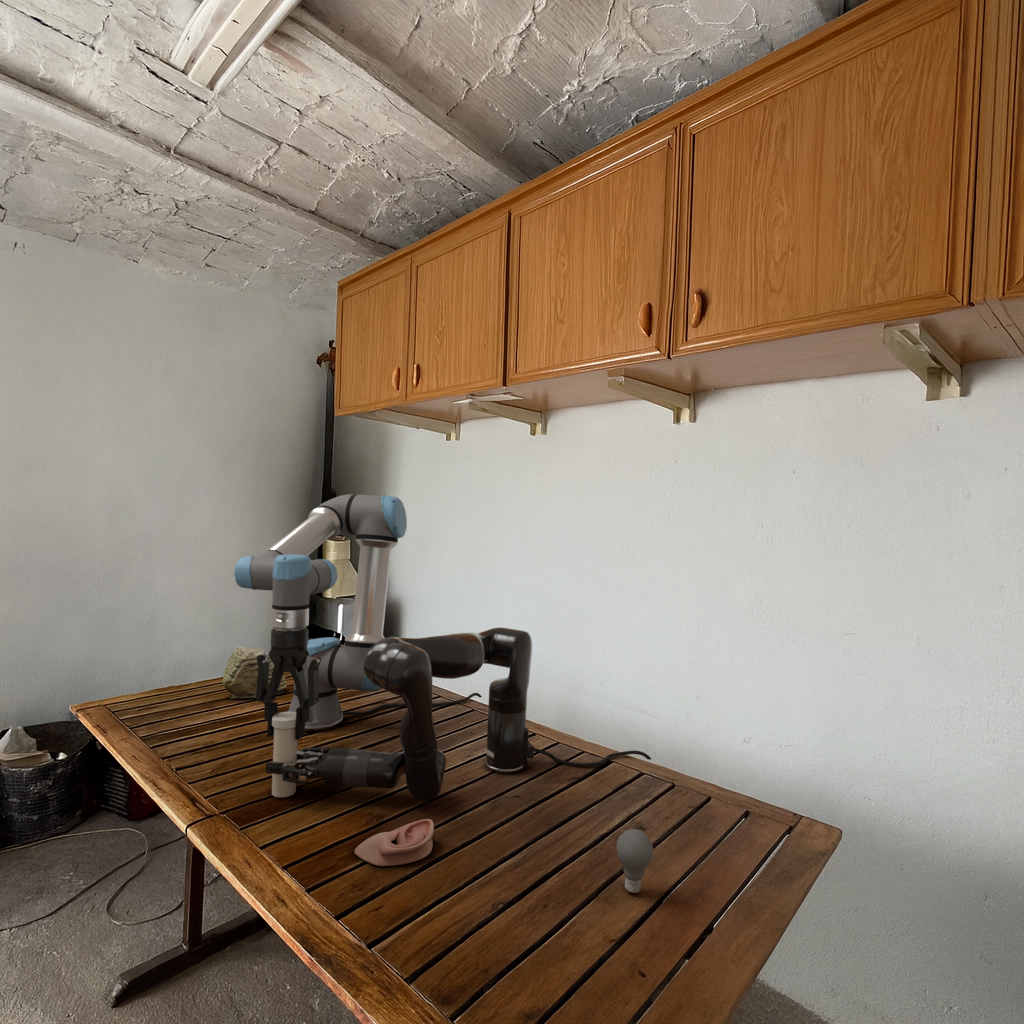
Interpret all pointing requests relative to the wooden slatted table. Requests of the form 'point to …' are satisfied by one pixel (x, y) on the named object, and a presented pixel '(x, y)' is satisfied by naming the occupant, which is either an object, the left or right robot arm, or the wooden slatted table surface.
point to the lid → (284, 720)
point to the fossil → (246, 673)
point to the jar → (284, 760)
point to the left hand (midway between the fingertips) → (285, 735)
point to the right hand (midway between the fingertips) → (272, 762)
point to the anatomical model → (398, 844)
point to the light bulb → (634, 857)
